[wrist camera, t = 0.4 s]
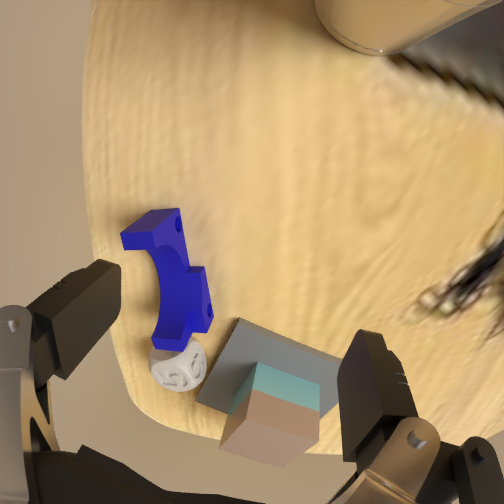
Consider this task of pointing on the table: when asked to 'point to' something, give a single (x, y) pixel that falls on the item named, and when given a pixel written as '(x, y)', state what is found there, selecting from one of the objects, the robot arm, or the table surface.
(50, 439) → the robot arm
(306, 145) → the table surface
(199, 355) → the die
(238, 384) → the brick tower
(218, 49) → the table surface
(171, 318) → the blue saddle bracket
